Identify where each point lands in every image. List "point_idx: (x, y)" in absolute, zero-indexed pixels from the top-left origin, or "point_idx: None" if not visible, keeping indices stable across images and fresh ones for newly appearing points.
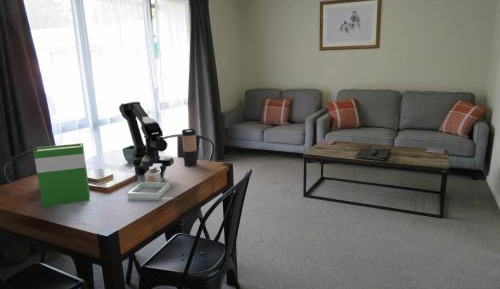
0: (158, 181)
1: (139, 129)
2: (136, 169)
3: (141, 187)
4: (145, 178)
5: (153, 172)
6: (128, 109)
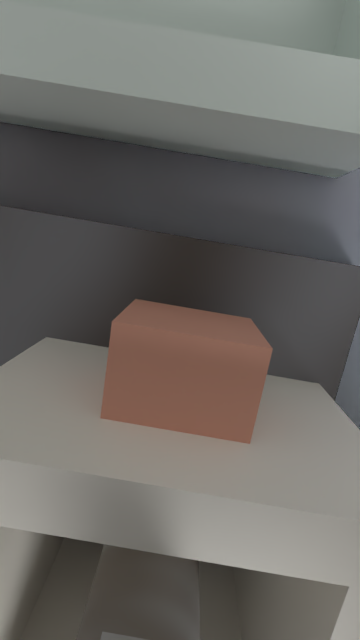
0: (47, 345)
1: None
2: None
3: (345, 23)
4: (340, 421)
5: (147, 615)
6: None
